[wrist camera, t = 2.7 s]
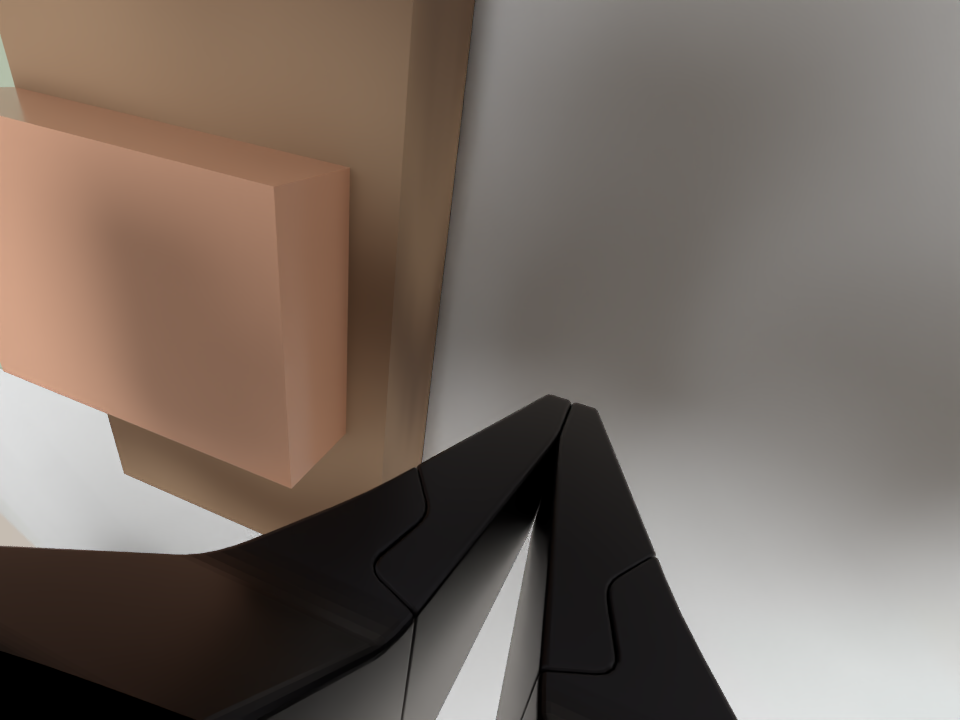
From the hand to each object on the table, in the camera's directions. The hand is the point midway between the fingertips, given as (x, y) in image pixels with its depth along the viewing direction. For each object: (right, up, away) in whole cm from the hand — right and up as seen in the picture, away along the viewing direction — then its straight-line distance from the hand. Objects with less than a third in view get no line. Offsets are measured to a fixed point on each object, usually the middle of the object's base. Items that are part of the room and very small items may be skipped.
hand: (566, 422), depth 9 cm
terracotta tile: (-8, +3, +3) cm, 9 cm away
